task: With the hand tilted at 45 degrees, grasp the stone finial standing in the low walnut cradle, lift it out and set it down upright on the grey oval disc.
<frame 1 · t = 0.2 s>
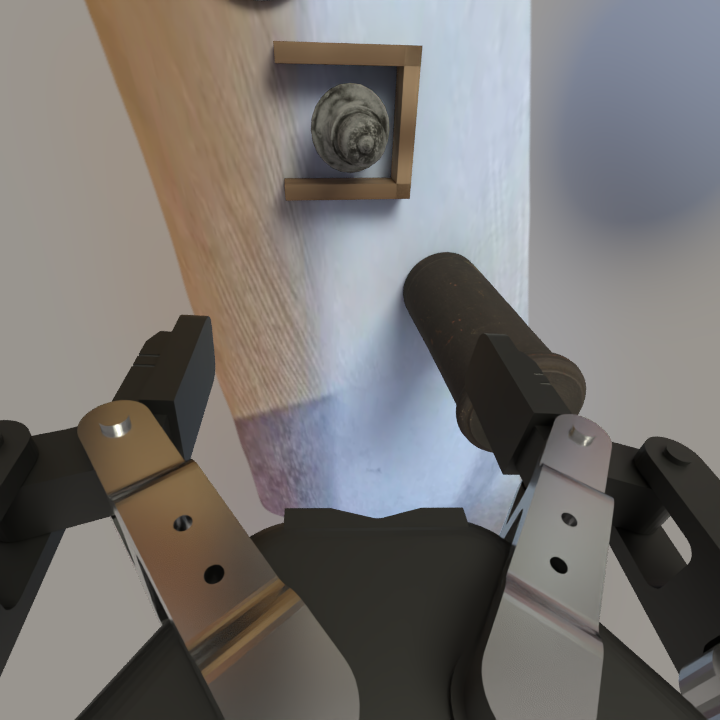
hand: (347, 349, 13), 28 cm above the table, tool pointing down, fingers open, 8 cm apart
cradle: (345, 125, 34), on the table
stone finial: (345, 124, 34), resting in cradle
container: (440, 288, 44), on the table
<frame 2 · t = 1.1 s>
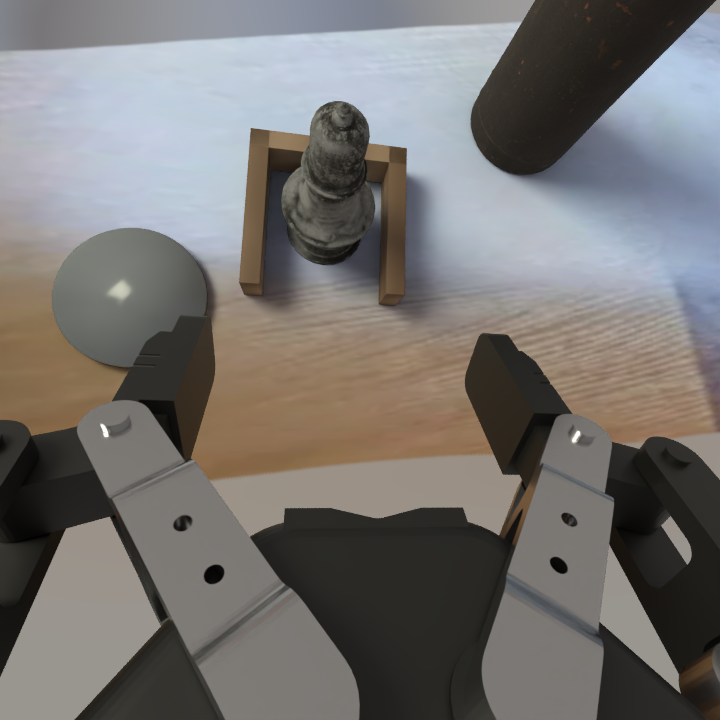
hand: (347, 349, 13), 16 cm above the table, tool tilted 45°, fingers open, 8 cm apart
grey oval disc: (134, 298, 27), on the table
cradle: (324, 228, 30), on the table
stone finial: (324, 230, 30), resting in cradle
container: (517, 130, 33), on the table
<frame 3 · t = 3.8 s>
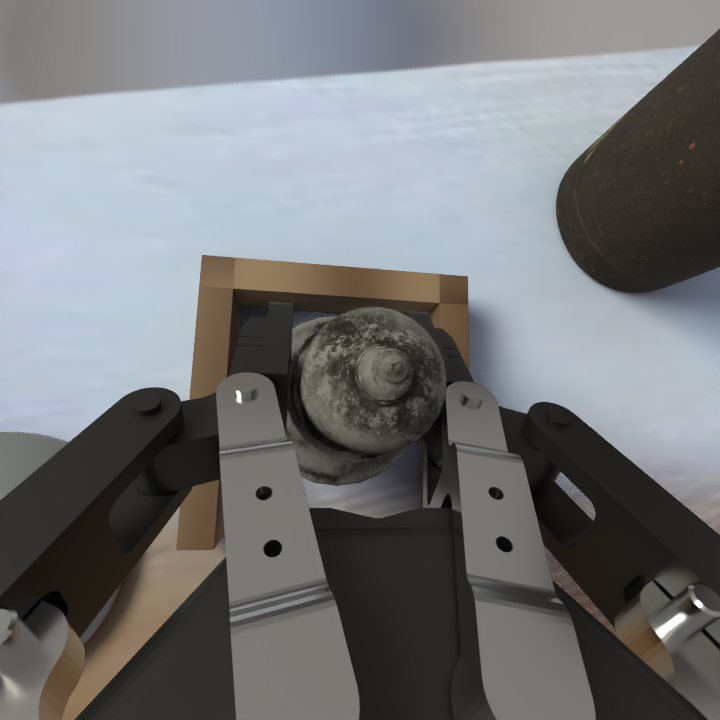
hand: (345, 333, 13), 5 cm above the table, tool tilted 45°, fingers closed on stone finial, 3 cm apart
cradle: (330, 402, 18), on the table
stone finial: (330, 403, 18), resting in cradle, touching gripper
container: (623, 220, 22), on the table
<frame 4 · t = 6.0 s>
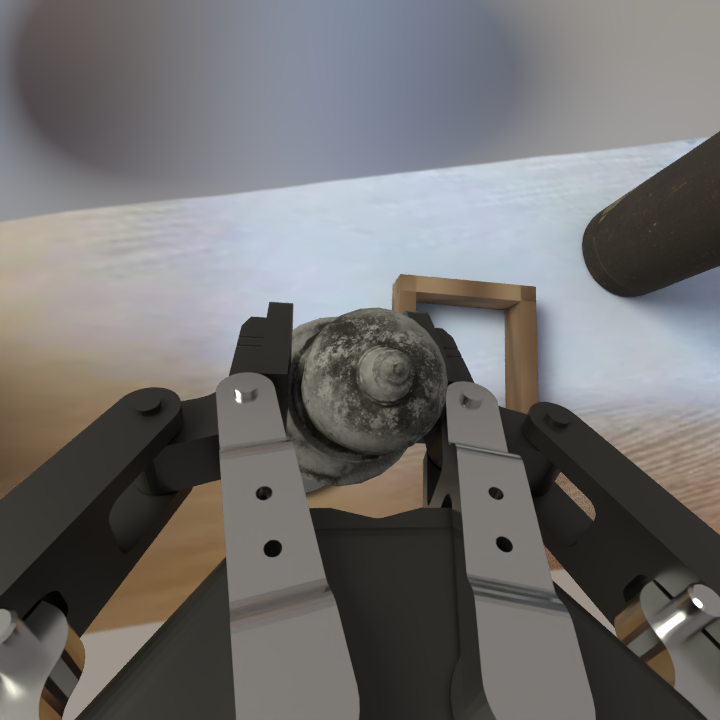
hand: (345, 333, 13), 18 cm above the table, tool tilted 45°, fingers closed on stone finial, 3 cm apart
cradle: (456, 355, 32), on the table
stone finial: (331, 403, 18), point 12 cm above the table, touching gripper
container: (622, 253, 36), on the table
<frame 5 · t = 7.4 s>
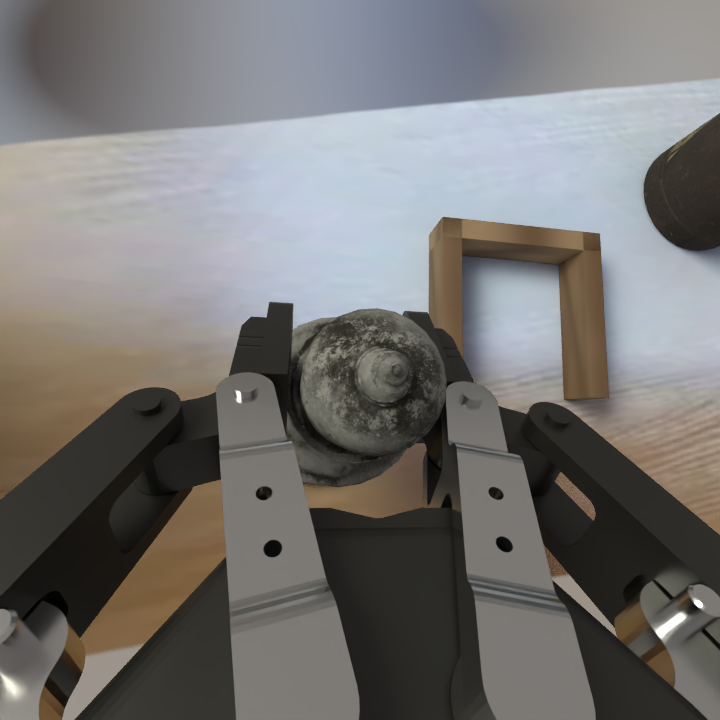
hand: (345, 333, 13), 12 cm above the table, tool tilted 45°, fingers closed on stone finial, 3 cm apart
cradle: (505, 317, 27), on the table
stone finial: (330, 404, 18), point 7 cm above the table, touching gripper
container: (688, 201, 31), on the table
when the fingers open (7 cm above the table, at t = 8.6 s): stone finial drops 1 cm, resting on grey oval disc.
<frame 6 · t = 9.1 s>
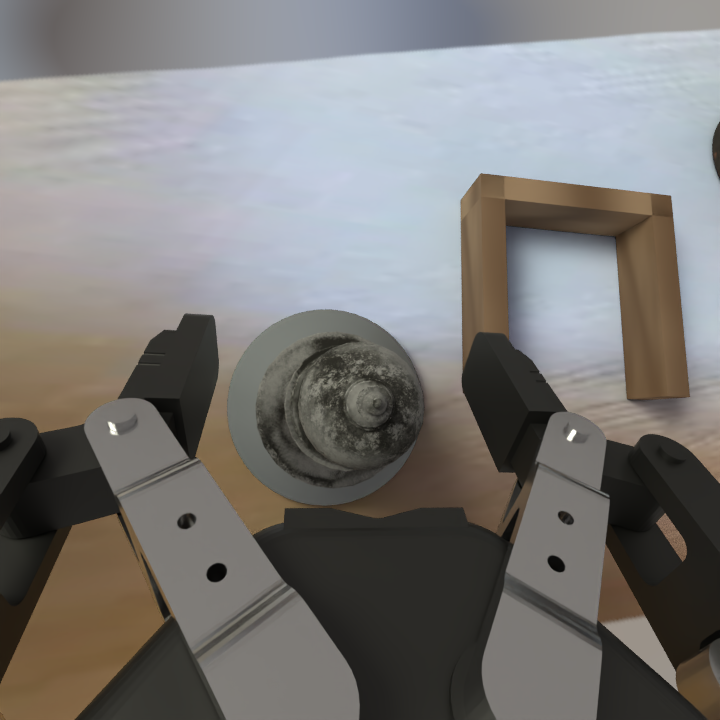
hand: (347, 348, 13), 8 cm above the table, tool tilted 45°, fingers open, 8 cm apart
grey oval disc: (327, 404, 20), on the table
cradle: (553, 299, 23), on the table
stone finial: (327, 408, 19), resting on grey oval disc
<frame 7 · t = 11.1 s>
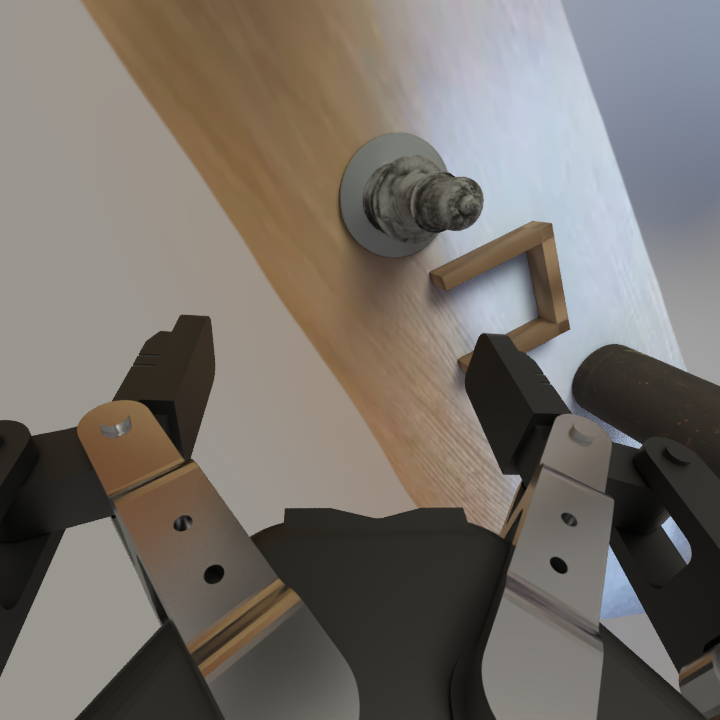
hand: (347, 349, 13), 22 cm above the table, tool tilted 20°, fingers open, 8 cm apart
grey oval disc: (395, 198, 33), on the table
cradle: (495, 298, 39), on the table
stone finial: (394, 199, 33), resting on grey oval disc
container: (601, 377, 47), on the table
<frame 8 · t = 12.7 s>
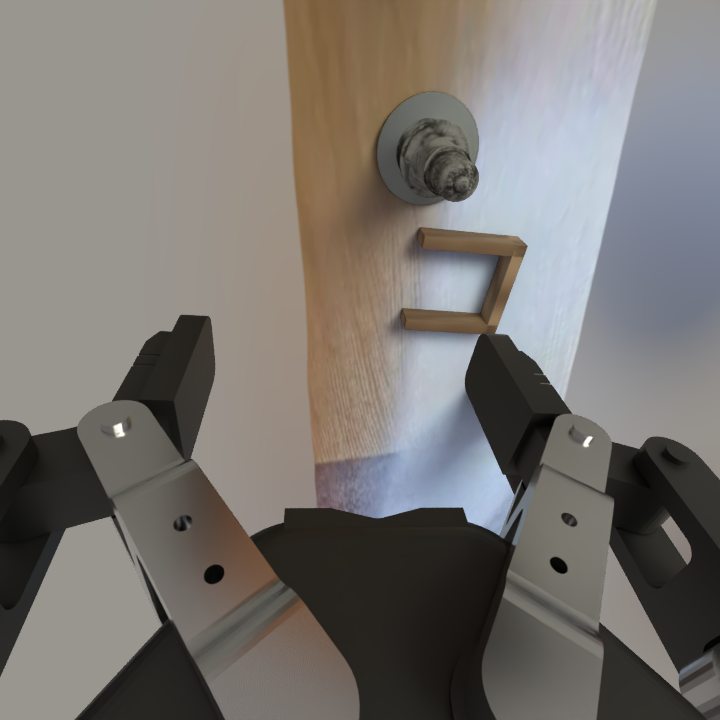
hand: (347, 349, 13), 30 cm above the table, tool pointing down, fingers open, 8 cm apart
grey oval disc: (426, 151, 37), on the table
cradle: (456, 279, 45), on the table
stone finial: (425, 152, 37), resting on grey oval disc
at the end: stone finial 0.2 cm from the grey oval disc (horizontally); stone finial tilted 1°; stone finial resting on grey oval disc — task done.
